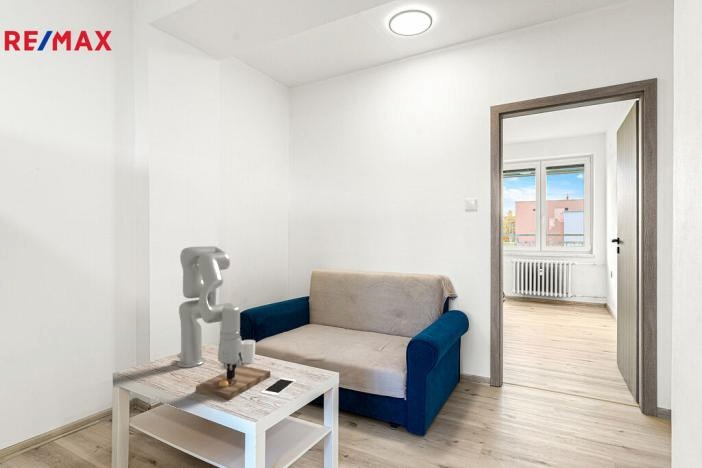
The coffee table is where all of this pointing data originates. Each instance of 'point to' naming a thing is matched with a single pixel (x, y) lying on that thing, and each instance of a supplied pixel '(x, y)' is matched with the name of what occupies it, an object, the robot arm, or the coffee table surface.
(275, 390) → the cell phone
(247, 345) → the white cup
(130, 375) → the coffee table surface
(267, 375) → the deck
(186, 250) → the robot arm
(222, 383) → the ball
